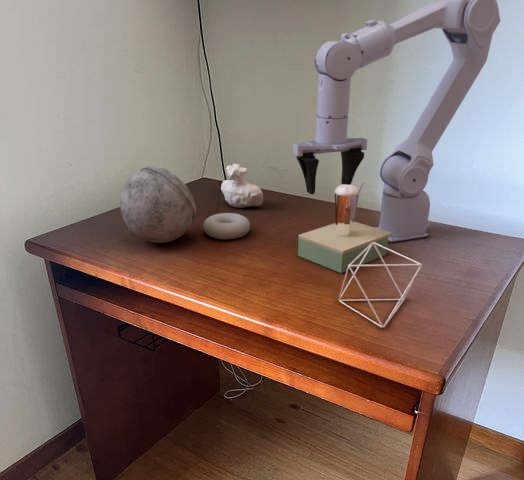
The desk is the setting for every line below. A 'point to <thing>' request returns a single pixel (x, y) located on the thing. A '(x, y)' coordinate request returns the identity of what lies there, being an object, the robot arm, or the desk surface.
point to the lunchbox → (339, 255)
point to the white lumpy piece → (240, 188)
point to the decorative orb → (157, 205)
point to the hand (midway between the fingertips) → (328, 190)
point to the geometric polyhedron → (389, 274)
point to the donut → (226, 226)
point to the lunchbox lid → (344, 237)
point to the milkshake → (345, 208)
